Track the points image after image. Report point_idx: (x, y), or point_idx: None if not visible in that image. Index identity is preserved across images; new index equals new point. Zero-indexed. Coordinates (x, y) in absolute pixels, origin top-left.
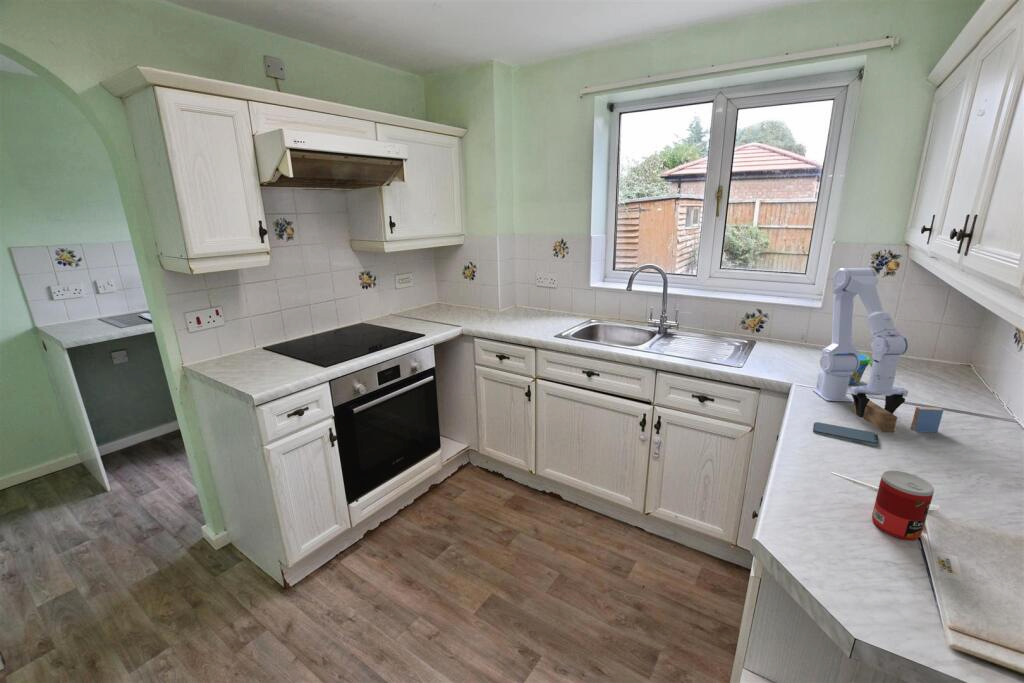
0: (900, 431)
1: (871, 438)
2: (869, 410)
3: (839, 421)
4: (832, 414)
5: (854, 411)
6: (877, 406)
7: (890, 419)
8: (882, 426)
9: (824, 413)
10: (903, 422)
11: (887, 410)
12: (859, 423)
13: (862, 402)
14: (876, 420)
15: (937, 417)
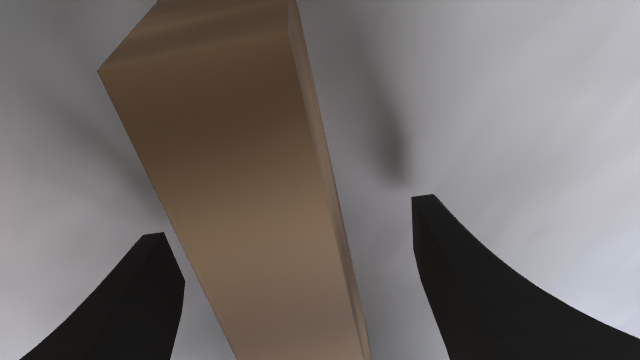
0: (87, 32)
1: None
2: (348, 282)
3: (613, 130)
4: (569, 254)
5: (365, 328)
6: (262, 345)
7: (213, 28)
8: (294, 7)
9: (625, 257)
10: (25, 244)
11: (153, 317)
12: (437, 131)
13: (576, 320)
14: (320, 128)
15: None
